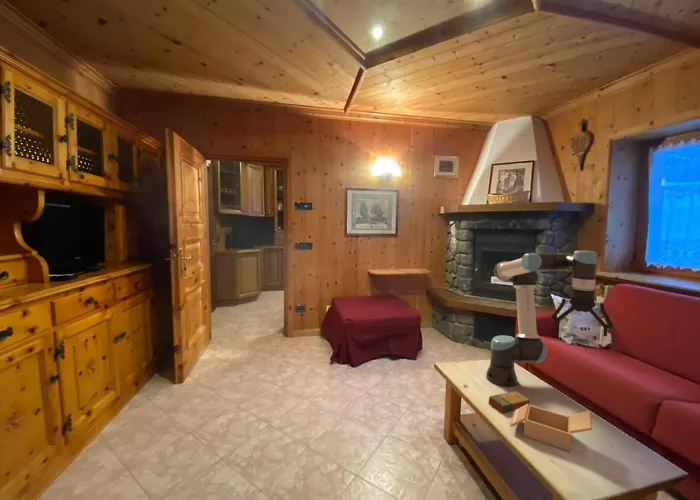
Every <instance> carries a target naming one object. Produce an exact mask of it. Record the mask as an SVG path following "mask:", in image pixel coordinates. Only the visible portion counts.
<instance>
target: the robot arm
mask: <svg viewBox="0 0 700 500" xmlns="http://www.w3.org/2000/svg"><path fill="white" fill-rule="evenodd" d="M597 258H598V254H597V252H596V251H595V250H594V251H593V250H579V249H578V250H575V251H574V252H573V254H572V253H568V252H559V253H541V252H540V253H538V252H531V253H525V254H523V256H522V257H521V258H516V259H515V260H511V261H505V260H504V261H501V262H498V263H497V264H495V266H494V269H493V274H494V275H493V276H494V277H495V278H497V279H498V281H501V282H504V283H512V287H513V288H515V297H516V310H517V311H516V312H517V325H518V333H517V334H516V335H515V338H514V337H513V336H511V335H496V336H494V337H493V338H491V344H490V364H489V366H488V368H487V371H486V374H485V377H486V380H488V381H489V382H491V383H493V384H495V385H498V386H502V387H515V386H516V385H518V376H517V372H516V369H515V363H530V364H535V363H542V362H544V360H545V359H546V357H547V352H548V349H547V345H546V343H545V342H544V340H542V339H541V336H539V334H538V329H537V317H536V316H537V315H536V303H535V292H534V291H535V290H534V289H536V288H537V284H538V283H540V281H541V278H542V274H541V271H549V272H550V271H553V272H557V271H558V272H561V271H562V272H570V273H572V278H571V287H572V288H571V294H570V299H568V298H565V297H562V298H561V302H560V304H559V305H558V307H557V308H556V309H555V311H554V312H553V314H552V315H551V317H550V318H551V319H552V320H554V321H555V322H556V323H555V327H556V329H558V338H561V337H562V327H563V326H562V325H563V324H562V323H563V321H562V319H564V318H566V317H567V316H568V315H569V314H570V313H572V312H573V311H576V312H581V313H582V312H583V313H589V314H591V315H592V317H594V318H595V319H596V321H597V322H598V323H599V324H600V332H599V333H600V334H599V345H604V337H607V336H608V329H613V328H614V327H615V326H614V324H613V322H612V320H611V318H610V316H609V315H608V313H607V311H606V309H605V304H604V302H603V301H602V302H595V295H596V291H595V289H596V278H597V277H596V276H597V268H598V267H597V266H598V265H597V264H598V259H597ZM568 304H570V307H569V308H567V309H566V310H565V311H564V312H562V313H561V310H562V309H563V308H564V306H565V305H568ZM594 307H595V308H596V307H597V308H598V309H600V311H601V313H602V315H603V317H604V318H605V321H606V322H607V323H606V322H604V320H603V319H602V317H600V316H599V314H597V312H596V311H595V310H594ZM559 313H561V314H560V315H559V316H558V314H559Z"/></svg>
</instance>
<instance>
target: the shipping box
mask: <svg viewBox="0 0 700 500" xmlns="http://www.w3.org/2000/svg"><path fill="white" fill-rule="evenodd" d="M522 422H524V427H523V437H524V438H527V439H529V440H531V441H532V440H533V441H535V442H538V443H541V444H544V445H547V446H550V447H553V448H554V449H558V450H561V451H564V452H566V453H570V452H571V451H570V450H571V437H572V433H570V415H569V416H568V415H565V414H561V413H558V412H555V411H552V410H548V409H545V408H542V407H539V406H534V405H532V404H530V405H529V404H526V405H524V406H522V407H520V408H518V409H516V410H515V411H513V414H512V417H511V420H510V423H509V426H510V428H512V427H514V426H517V425H519V424H521V423H522Z"/></svg>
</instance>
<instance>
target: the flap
mask: <svg viewBox="0 0 700 500" xmlns="http://www.w3.org/2000/svg"><path fill="white" fill-rule="evenodd" d="M569 417H570V433H571V434H576V433H582V432H588V431H593V425H592V416H591V412H590V410H587V411H582V412H576V413H569Z"/></svg>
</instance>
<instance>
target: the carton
mask: <svg viewBox="0 0 700 500" xmlns="http://www.w3.org/2000/svg"><path fill="white" fill-rule="evenodd" d="M526 404H529V405H531V404H530V399H529V398H528V397H526V396H525V395H523V394H521V393H520V392H518V391H516V390H514V391H509V392H508V391H507V392H503V393H500V394H495V395H490V396H489V397H488V405H489V406H491V407H492V408H493V409H494V410H497V411H498V412H500V414H507V413H511V412H514V411H515V410H516V409H518V408H520V407H522V406H524V405H526Z"/></svg>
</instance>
